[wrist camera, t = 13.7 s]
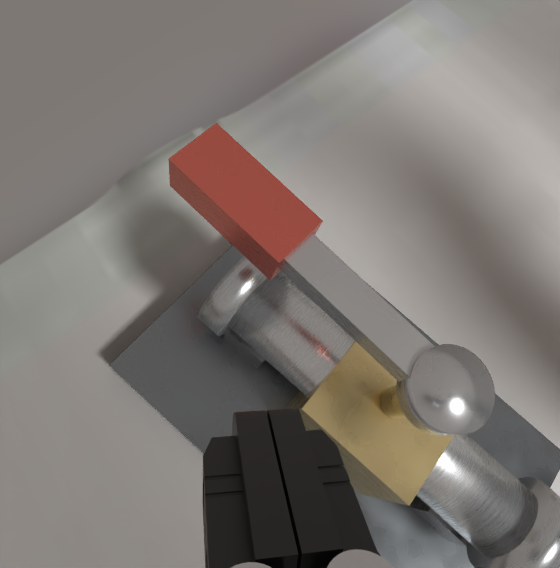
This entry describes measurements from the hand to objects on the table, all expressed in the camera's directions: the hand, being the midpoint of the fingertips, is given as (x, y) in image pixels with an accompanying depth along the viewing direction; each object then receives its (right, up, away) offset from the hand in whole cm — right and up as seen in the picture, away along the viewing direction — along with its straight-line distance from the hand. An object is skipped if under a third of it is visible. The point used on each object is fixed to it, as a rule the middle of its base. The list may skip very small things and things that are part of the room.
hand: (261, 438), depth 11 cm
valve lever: (+2, +3, +11) cm, 11 cm away
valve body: (+5, -5, +22) cm, 23 cm away
